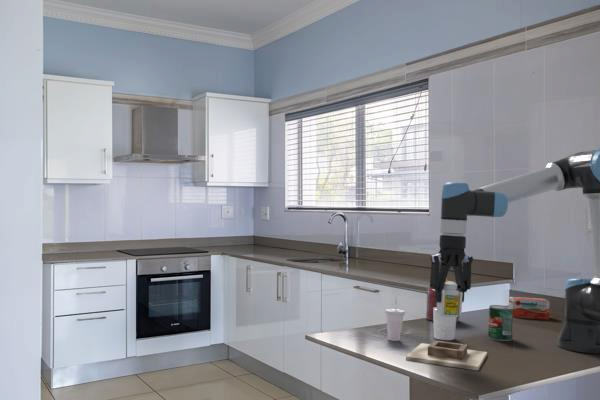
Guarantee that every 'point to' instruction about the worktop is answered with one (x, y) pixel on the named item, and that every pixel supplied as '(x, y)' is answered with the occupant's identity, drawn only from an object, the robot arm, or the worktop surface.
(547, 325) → the worktop surface
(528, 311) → the medicine box
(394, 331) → the smoothie
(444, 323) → the white cup
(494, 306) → the canned tomato
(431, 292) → the canister
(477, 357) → the socket board
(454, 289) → the supplement bottle
